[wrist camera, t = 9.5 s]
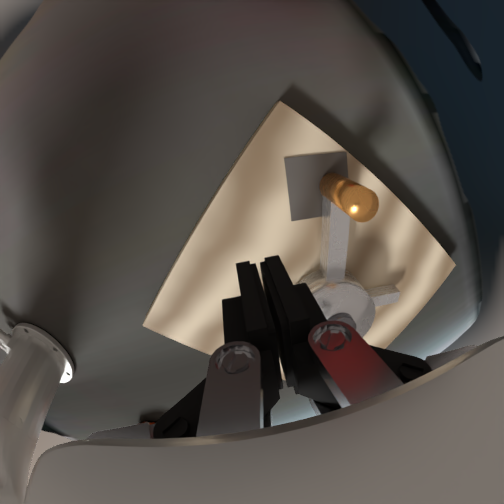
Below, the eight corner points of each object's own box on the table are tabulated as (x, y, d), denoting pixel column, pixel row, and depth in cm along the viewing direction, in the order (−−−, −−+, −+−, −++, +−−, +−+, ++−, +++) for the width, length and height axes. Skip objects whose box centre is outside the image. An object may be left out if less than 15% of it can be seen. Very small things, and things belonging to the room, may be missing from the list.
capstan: (377, 342, 32) (397, 374, 26) (249, 365, 31) (254, 405, 25) (409, 173, 22) (450, 189, 17) (232, 178, 21) (234, 195, 16)
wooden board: (146, 314, 29) (142, 326, 27) (275, 102, 21) (280, 100, 19) (332, 383, 39) (335, 394, 37) (447, 258, 30) (456, 265, 28)
